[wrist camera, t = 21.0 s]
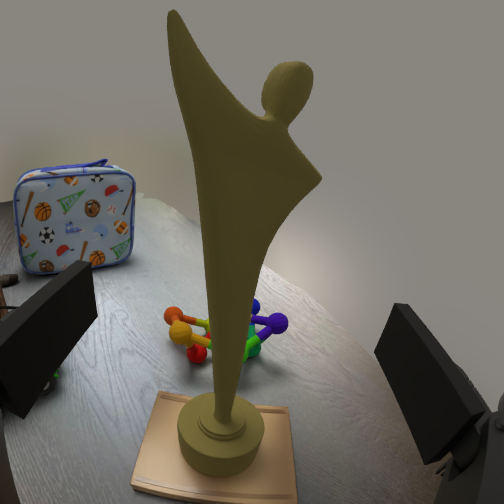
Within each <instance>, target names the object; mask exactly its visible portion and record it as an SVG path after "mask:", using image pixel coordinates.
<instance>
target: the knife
mask: <svg viewBox="0 0 504 504" xmlns="http://www.w3.org/2000/svg"><path fill="white" fill-rule="evenodd" d="M17 280H18V275H16V274H7V275H5V274H3V275H2V276H0V283H1V286H3V285H8V284H11V283H13V282H16V281H17Z"/></svg>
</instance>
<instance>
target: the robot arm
mask: <svg viewBox="0 0 504 504" xmlns="http://www.w3.org/2000/svg"><path fill="white" fill-rule="evenodd" d="M97 317H98V314H97V308H96V301H95V293H94V285H93V275H92V265H91V262H87V261H82V260H76V261H75V262H74V263H72V264H71V265H70V266H68V267H67V268H66V269H65V270H63V271H62V272H61V273H59V274H58V275H57V276H56V277H54V278H53V279H52V280H51V281H49V282H48V283H47V284H46V285H45V286H43V287H42V288H41V289H40V290H38V291H37V292H36V293H35V294H34V295H33V296H31V297H30V298H29V299H28V300H27V301H26V302H24V303H23V304H22V305H21V306H20V307H19V308H16V309H14V310H12V311H10V312H8V313H6V314H5V315H4V316H3V317H2V318H1V319H0V402H1V400H3V402H4V404H5V405H6V407H7V408H8V410H9V411H10V412H12V413H14V414H15V415H17V416H19V417H20V418H22V419H25V417H26V416H27V414H28V413H29V411H30V409H31V408H32V406H33V405H34V403H35V402H36V400H37V399H38V397H39V396H40V394H41V393H42V391H43V390H44V388H45V387H46V385H47V384H48V382H49V381H50V379H51V378H52V377H53V375H54V374H55V372H56V371H57V370H58V368H59V367H60V365H61V364H62V363H63V361H64V360H65V358H66V357H67V356H68V354H69V353H70V352H71V350H72V349H73V348H74V346H75V345H76V344H77V342H78V341H79V340H80V338H81V337H82V336H83V334H84V333H85V332H86V331H87V329H88V328H89V327H90V325H91V324H92V323H93V322H94V320H95V319H96V318H97ZM374 353H375V355H376V357H377V359H378V361H379V364H380V366H381V368H382V370H383V372H384V374H385V376H386V378H387V380H388V382H389V384H390V386H391V388H392V391H393V393H394V395H395V397H396V399H397V401H398V404H399V406H400V408H401V410H402V413H403V415H404V417H405V419H406V422H407V424H408V426H409V428H410V431H411V433H412V436H413V438H414V440H415V443H416V445H417V448H418V450H419V452H420V455H421V457H422V460H423V462H424V465H427V464H431V463H434V462H437V461H440V460H441V459H442V458H443V457H444V456H445V455H446V454H447V453H448V452H449V451H451V453H452V457H451V458H450V459H449V460H448V461H447V462H445V463H444V464H443V465H442V466H441V467H440V468H439V469H438V470H437V471H436V473H435V474H438V473H440V472H441V471H442V470H443V469H444V468H445V471H444V472H443V473H442V474H441V475H440V476H443V478H442V481H441V484H440V487H439V490H438V493H437V496H436V498H435V501H434V504H504V413H503V412H499V411H496V412H493V413H492V412H491V411H490V409H489V407H488V406H487V404H486V403H485V401H484V400H483V398H482V397H481V395H480V394H479V392H478V391H477V389H476V388H474V385H473V384H472V382H471V381H470V380H469V378H468V376H467V375H466V374H465V372H464V371H463V370H462V369H461V368H460V367H459V366H458V365H456V364H455V363H454V362H453V361H452V359H451V358H450V357H449V355H448V354H447V353H446V351H445V350H444V349H443V347H442V346H441V345H440V343H439V342H438V341H437V339H436V338H435V337H434V336H433V334H432V333H431V332H430V331H429V329H428V328H427V327H426V325H425V324H424V323H423V322H422V321H421V319H420V318H419V317H418V316H417V314H416V313H415V312H414V311H413V310H412V308H411V307H410V306H409V305H408V304H400V303H394V306H393V308H392V311H391V313H390V316H389V318H388V321H387V323H386V325H385V328H384V330H383V333H382V335H381V337H380V339H379V341H378V344H377V346H376V348H375V350H374ZM0 504H20V500H19V497H18V494H17V491H16V487H15V484H14V480H13V476H12V472H11V468H10V463H9V458H8V453H7V448H6V442H5V436H4V429H3V420H2V412H1V408H0Z"/></svg>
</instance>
